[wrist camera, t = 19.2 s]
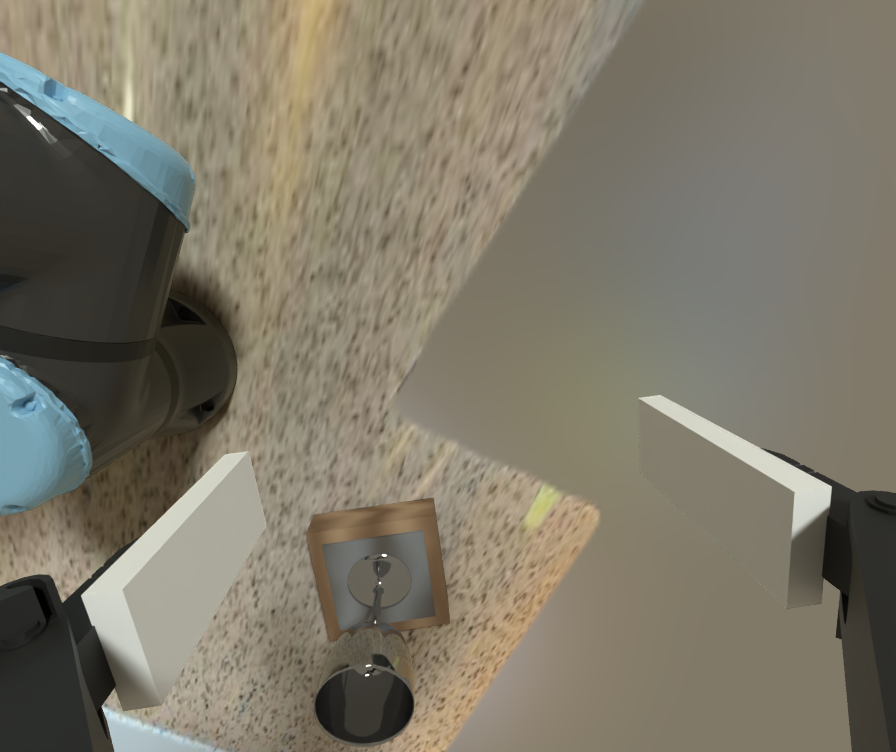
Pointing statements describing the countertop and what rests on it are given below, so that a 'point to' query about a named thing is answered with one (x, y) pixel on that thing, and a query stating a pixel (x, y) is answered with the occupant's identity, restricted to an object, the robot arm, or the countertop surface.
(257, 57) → the countertop surface
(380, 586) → the wine glass
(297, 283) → the countertop surface
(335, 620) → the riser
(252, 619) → the countertop surface
